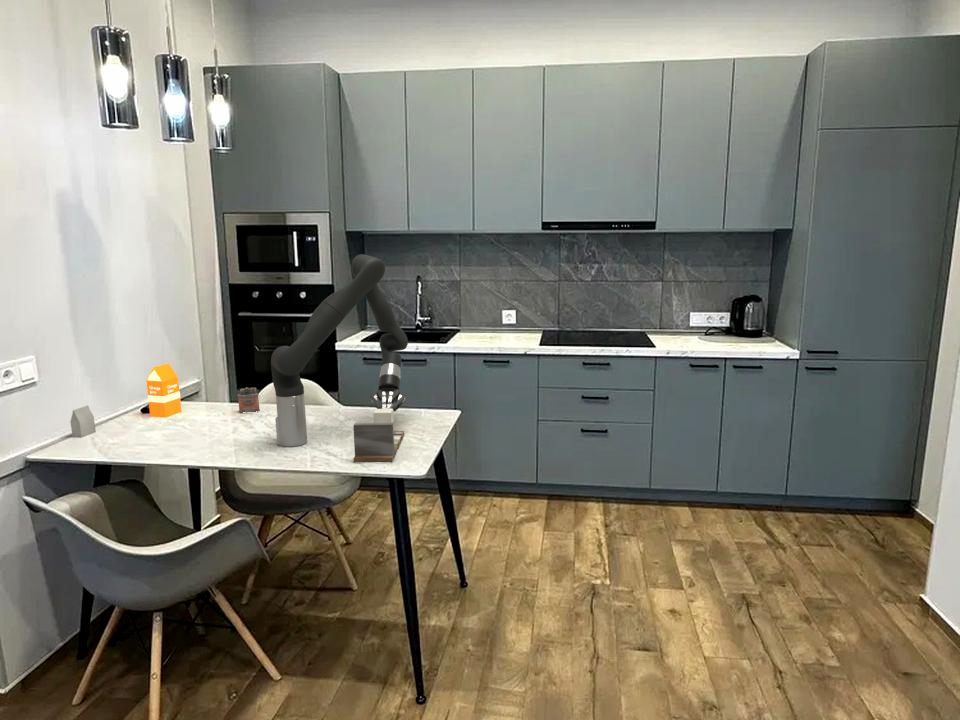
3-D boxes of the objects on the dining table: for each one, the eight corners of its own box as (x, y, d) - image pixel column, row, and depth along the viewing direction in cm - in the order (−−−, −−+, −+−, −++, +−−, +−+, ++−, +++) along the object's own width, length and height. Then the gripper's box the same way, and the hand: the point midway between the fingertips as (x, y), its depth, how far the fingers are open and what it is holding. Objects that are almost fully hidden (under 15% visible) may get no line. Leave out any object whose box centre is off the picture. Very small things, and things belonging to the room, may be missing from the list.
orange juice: (149, 416, 259) (144, 366, 255) (166, 410, 268) (161, 362, 264) (166, 417, 257) (160, 367, 253) (182, 411, 265) (177, 363, 261)
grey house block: (95, 432, 239) (92, 405, 237) (81, 437, 233) (77, 410, 231) (87, 431, 240) (83, 405, 238) (72, 437, 233) (68, 410, 231)
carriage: (377, 433, 227) (375, 408, 225) (403, 433, 227) (402, 408, 225) (373, 439, 220) (372, 414, 218) (400, 439, 220) (399, 414, 218)
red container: (238, 413, 261) (236, 389, 259) (239, 411, 264) (237, 387, 262) (259, 412, 263) (257, 388, 261) (260, 410, 266) (258, 386, 264)
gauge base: (370, 435, 231) (369, 403, 229) (404, 435, 230) (403, 403, 228) (353, 462, 203) (351, 427, 201) (392, 462, 203) (390, 426, 201)
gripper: (370, 373, 234) (365, 415, 225) (406, 373, 234) (403, 415, 224) (373, 384, 241) (368, 425, 231) (409, 384, 240) (405, 425, 231)
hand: (385, 420), depth 228 cm, fingers closed
